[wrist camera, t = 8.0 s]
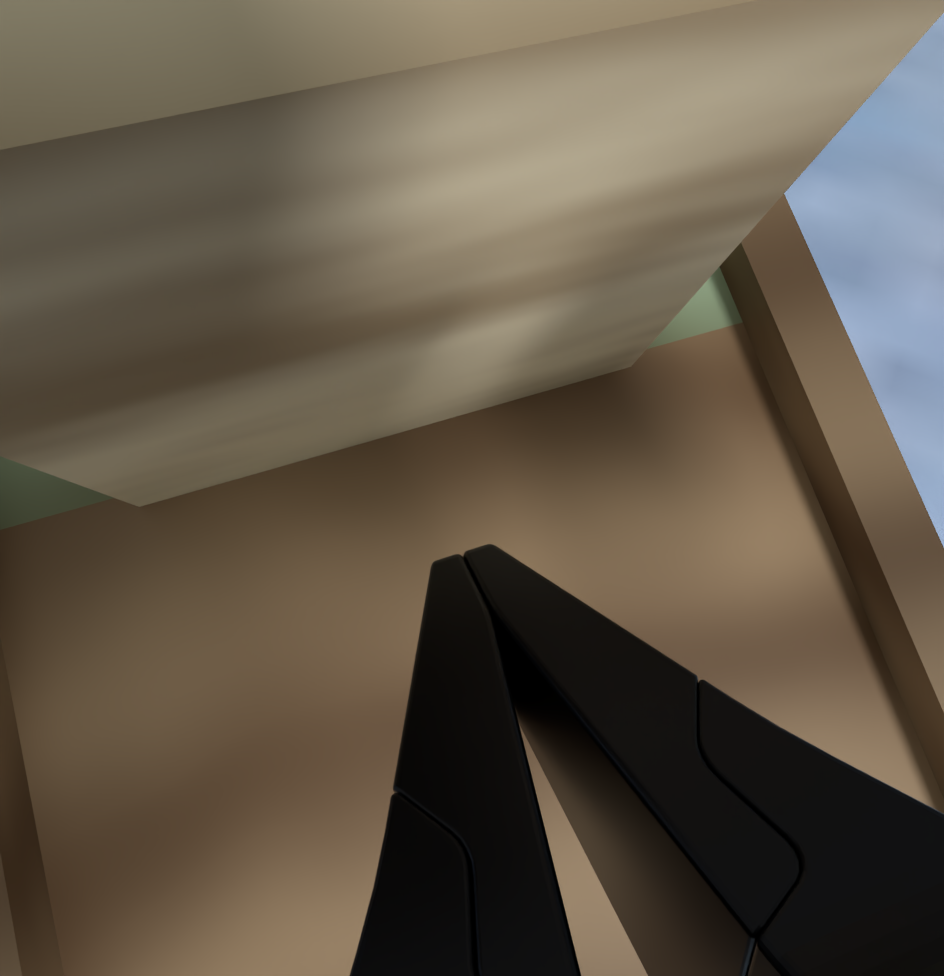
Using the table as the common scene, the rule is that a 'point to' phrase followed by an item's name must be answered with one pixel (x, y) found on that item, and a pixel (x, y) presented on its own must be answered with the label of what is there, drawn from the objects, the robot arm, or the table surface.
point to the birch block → (376, 207)
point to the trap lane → (397, 619)
